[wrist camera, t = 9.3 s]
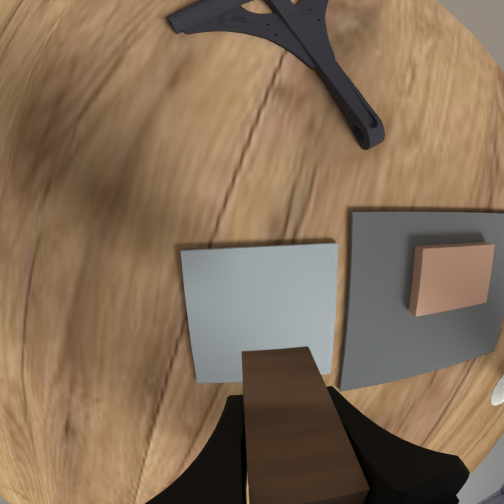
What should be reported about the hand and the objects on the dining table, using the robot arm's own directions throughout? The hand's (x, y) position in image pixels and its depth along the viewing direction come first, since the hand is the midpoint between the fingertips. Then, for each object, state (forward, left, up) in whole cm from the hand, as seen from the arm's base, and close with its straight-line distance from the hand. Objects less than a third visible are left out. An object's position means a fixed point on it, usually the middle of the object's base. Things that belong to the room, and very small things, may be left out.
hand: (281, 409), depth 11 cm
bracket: (+18, -4, -10) cm, 21 cm away
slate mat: (0, -15, -9) cm, 18 cm away
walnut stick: (0, 0, -2) cm, 2 cm away
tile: (0, -15, -8) cm, 17 cm away
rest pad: (0, 0, -9) cm, 9 cm away
